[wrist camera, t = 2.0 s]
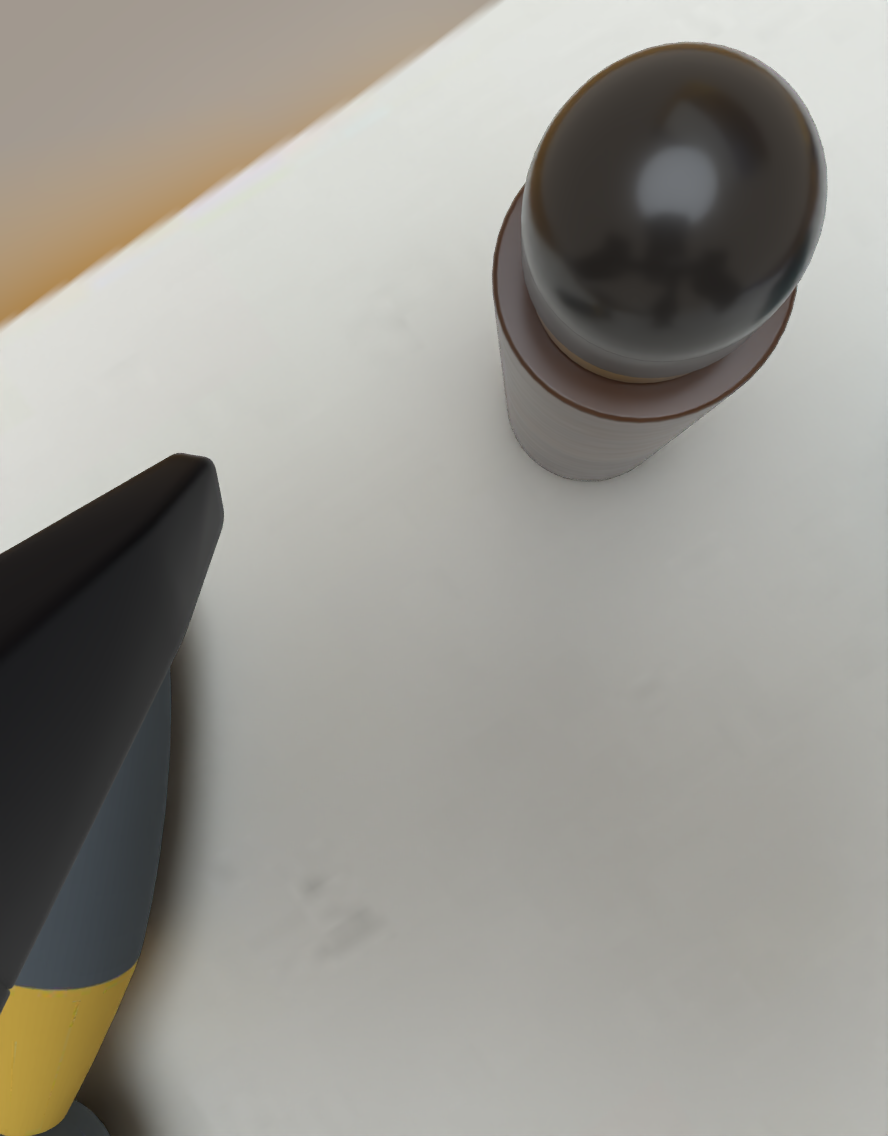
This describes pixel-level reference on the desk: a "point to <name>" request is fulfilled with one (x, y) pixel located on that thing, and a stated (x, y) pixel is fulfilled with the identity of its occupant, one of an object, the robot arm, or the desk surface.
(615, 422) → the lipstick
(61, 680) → the robot arm
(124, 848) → the paintbrush
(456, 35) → the desk surface
